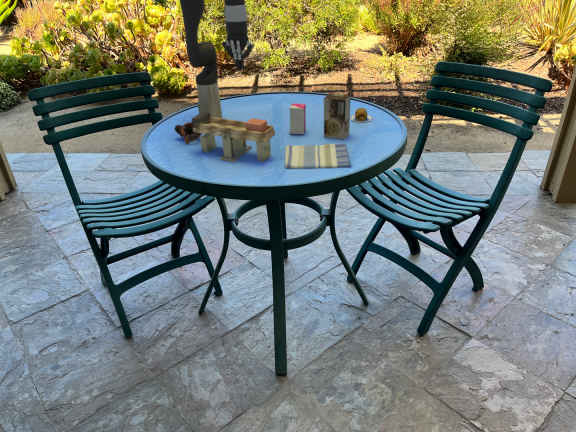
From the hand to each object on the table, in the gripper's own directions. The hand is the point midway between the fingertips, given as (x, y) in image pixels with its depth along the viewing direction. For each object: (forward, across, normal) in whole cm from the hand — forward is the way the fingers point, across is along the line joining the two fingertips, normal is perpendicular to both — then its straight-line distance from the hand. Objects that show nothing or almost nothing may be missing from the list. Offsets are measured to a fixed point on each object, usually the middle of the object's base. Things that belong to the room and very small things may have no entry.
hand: (240, 69), depth 155 cm
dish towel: (+27, +34, -7) cm, 44 cm away
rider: (+17, +14, -14) cm, 26 cm away
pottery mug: (+28, -21, -9) cm, 36 cm away
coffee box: (+27, +34, +15) cm, 46 cm away
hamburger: (+28, +37, +36) cm, 59 cm away
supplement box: (+27, +18, +13) cm, 35 cm away
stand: (+27, +4, -14) cm, 31 cm away
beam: (+18, +4, -14) cm, 23 cm away
